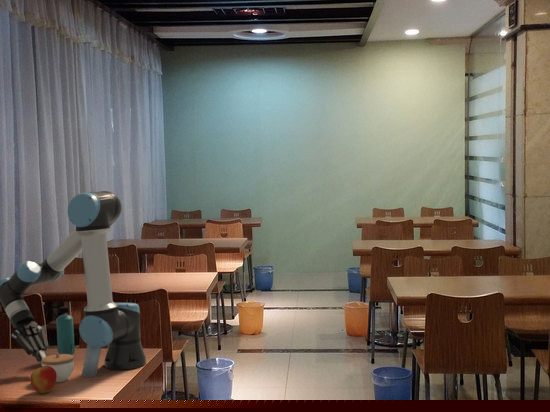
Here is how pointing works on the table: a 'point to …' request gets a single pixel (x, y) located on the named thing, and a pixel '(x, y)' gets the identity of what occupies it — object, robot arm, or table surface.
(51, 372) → the apple
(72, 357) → the lidded jar
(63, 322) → the beverage bottle
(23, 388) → the table surface
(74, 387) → the table surface
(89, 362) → the post
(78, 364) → the table surface
